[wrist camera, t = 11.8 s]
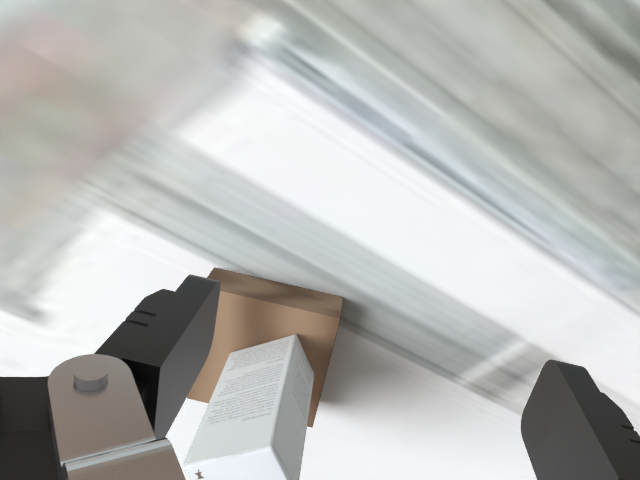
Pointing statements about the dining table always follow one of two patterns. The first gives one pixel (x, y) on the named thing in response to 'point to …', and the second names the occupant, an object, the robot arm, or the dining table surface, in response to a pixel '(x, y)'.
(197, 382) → the walnut block
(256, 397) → the skincare box
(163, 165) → the dining table surface
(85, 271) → the dining table surface
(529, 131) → the dining table surface
